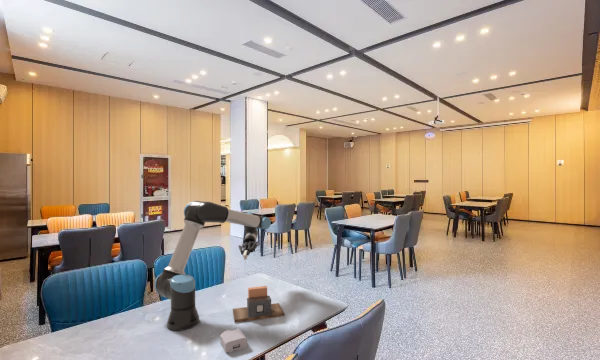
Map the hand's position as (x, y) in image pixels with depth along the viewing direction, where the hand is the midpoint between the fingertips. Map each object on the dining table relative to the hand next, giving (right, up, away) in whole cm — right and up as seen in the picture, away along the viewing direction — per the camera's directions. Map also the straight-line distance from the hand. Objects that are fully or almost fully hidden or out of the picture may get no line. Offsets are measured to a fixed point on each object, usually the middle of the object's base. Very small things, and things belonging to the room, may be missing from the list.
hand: (244, 257), depth 178 cm
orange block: (+10, -26, -14) cm, 31 cm away
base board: (+9, -28, -11) cm, 31 cm away
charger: (+1, -28, -41) cm, 50 cm away
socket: (+10, -26, -15) cm, 32 cm away
